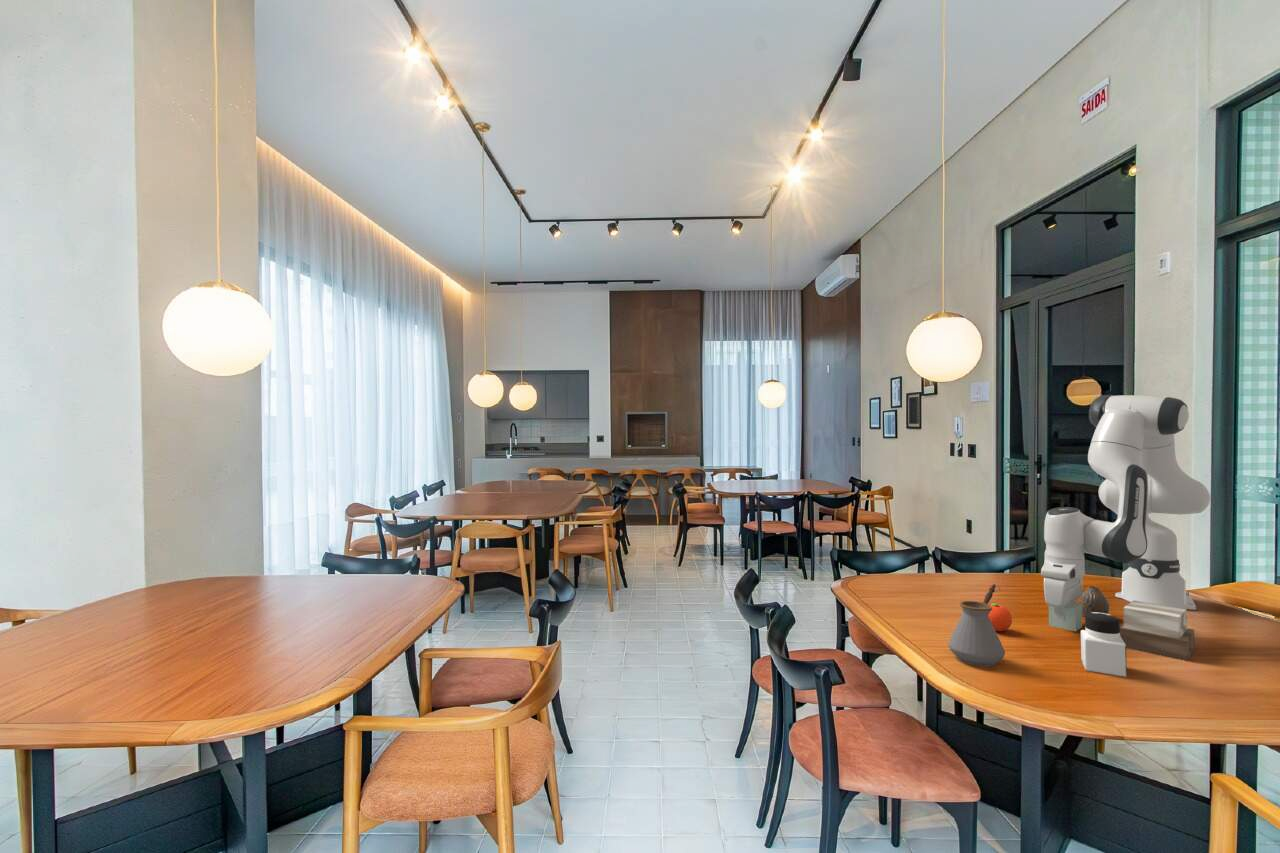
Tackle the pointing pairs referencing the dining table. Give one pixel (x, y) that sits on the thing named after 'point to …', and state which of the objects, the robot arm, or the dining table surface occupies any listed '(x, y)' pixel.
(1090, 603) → the brown ridged oval lump
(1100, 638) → the medicine bottle
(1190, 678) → the dining table surface
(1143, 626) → the tower top
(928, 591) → the dining table surface
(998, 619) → the clementine
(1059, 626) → the sage cube
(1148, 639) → the tower base
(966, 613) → the coffee pot
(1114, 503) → the robot arm
